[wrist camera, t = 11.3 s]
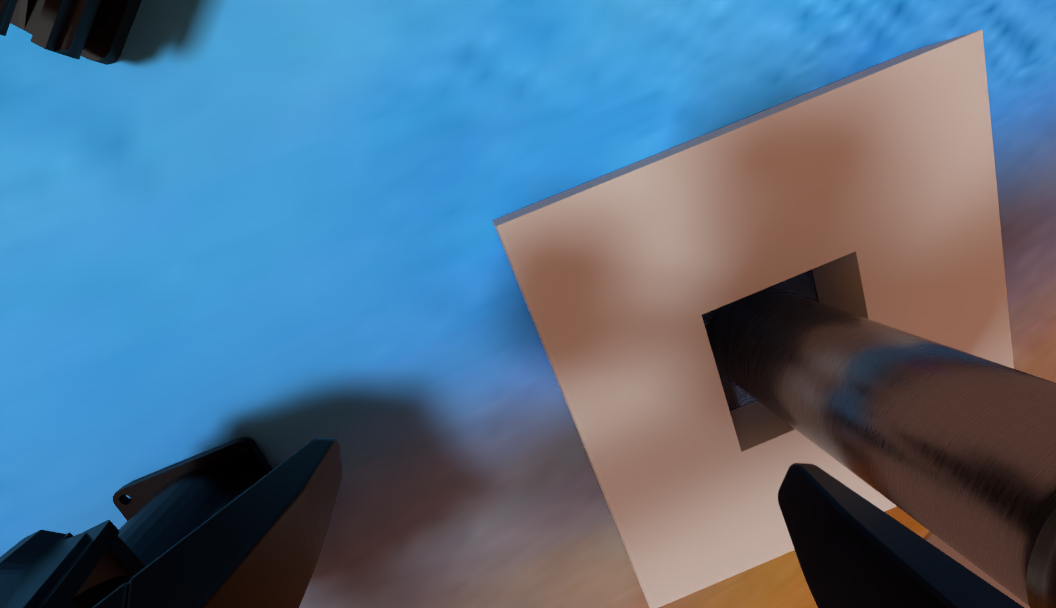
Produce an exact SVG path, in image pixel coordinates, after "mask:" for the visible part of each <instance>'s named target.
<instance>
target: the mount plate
mask: <svg viewBox="0 0 1056 608" xmlns="http://www.w3.org/2000/svg"><path fill="white" fill-rule="evenodd" d="M492 221H493V223H494V226H495V228H496V231H497V233H498V236H499V238H500V241H501V243H502V246H503V248H504V251H505V253H506V256H507V258H508V261H509V263H510V266H511V268H512V271H513V273H514V275H515V278H516V280H517V283H518V285H519V288H520V290H521V293H522V295H523V298H524V300H525V303H526V305H527V308H528V310H529V313H530V315H531V318H532V320H533V323H534V325H535V327H536V330H537V332H538V335H539V337H540V340H541V342H542V345H543V347H544V350H545V352H546V355H547V357H548V360H549V362H550V365H551V367H552V370H553V372H554V375H555V377H556V380H557V382H558V384H559V387H560V389H561V392H562V394H563V397H564V399H565V402H566V404H567V407H568V409H569V412H570V414H571V417H572V419H573V422H574V424H575V427H576V429H577V432H578V434H579V436H580V439H581V441H582V444H583V446H584V449H585V451H586V454H587V456H588V459H589V461H590V464H591V466H592V469H593V471H594V474H595V476H596V479H597V481H598V484H599V486H600V488H601V491H602V493H603V496H604V498H605V501H606V503H607V506H608V508H609V511H610V513H611V516H612V518H613V521H614V523H615V526H616V528H617V531H618V533H619V536H620V538H621V541H622V543H623V545H624V548H625V550H626V553H627V555H628V558H629V560H630V563H631V565H632V568H633V570H634V572H635V575H636V577H637V579H638V582H639V584H640V586H641V589H642V591H643V593H644V596H645V598H646V600H647V603H648V605H649V607H650V608H659V607H661V606H664V605H666V604H668V603H671V602H673V601H675V600H678V599H680V598H682V597H685V596H687V595H689V594H692V593H694V592H696V591H699V590H701V589H704V588H706V587H708V586H711V585H713V584H715V583H718V582H720V581H722V580H725V579H727V578H729V577H732V576H734V575H736V574H739V573H741V572H743V571H746V570H748V569H751V568H753V567H755V566H758V565H760V564H762V563H765V562H767V561H769V560H772V559H774V558H776V557H779V556H781V555H783V554H786V553H788V552H790V551H793V550H795V549H794V546H793V543H792V540H791V538H790V535H789V532H788V529H787V526H786V523H785V521H784V518H783V515H782V512H781V509H780V506H779V503H778V491H779V488H780V486H781V484H782V482H783V479H784V477H785V475H786V473H787V471H788V468H789V467H790V466H791V465H792V464H793V463H807V464H814V465H816V466H818V467H819V468H821V469H822V470H824V471H825V472H827V473H828V474H829V475H831V476H832V477H834V478H835V479H837V480H838V481H840V482H841V483H843V484H844V485H846V486H847V487H848V488H850V489H851V490H853V491H854V492H856V493H857V494H859V495H860V496H862V497H863V498H865V499H866V500H867V501H869V502H870V503H872V504H873V505H875V506H876V507H878V508H879V509H881V510H882V511H887V510H889V509H892V508H894V507H896V505H895V504H894V503H892V502H891V501H890V500H888V499H887V498H886V497H884V496H883V495H882V494H880V493H879V492H878V491H876V490H875V489H874V488H872V487H871V486H870V485H868V484H867V483H866V482H864V481H863V480H862V479H861V478H859V477H858V476H857V475H855V474H854V473H853V472H851V471H850V470H849V469H847V468H846V467H845V466H843V465H842V464H841V463H839V462H838V461H837V460H835V459H834V458H833V457H831V456H830V455H829V454H827V453H826V452H825V451H823V450H822V449H821V448H820V447H818V446H817V445H816V444H814V443H813V442H812V441H810V440H809V439H808V438H806V437H805V436H804V435H802V434H801V433H800V432H798V431H797V430H796V429H794V428H793V427H792V426H790V425H789V424H788V423H786V422H785V421H784V420H782V419H781V418H780V417H778V416H777V415H776V414H775V413H773V412H772V411H771V410H769V409H768V408H767V407H765V406H764V405H763V404H761V403H760V402H759V401H757V400H756V401H754V402H751V403H749V404H746V405H744V406H742V407H739V408H737V409H734V410H732V411H729V407H728V404H727V400H726V397H725V394H724V390H723V387H722V383H721V380H720V376H719V373H718V370H717V366H716V363H715V359H714V356H713V353H712V349H711V346H710V342H709V339H708V336H707V332H706V329H705V325H704V322H703V318H702V314H705V313H707V312H710V311H712V310H714V309H717V308H719V307H722V306H724V305H727V304H729V303H731V302H734V301H736V300H739V299H741V298H744V297H746V296H748V295H751V294H753V293H756V292H758V291H761V290H763V289H765V288H768V287H770V286H773V285H775V284H777V283H780V282H782V281H785V280H787V279H790V278H792V277H794V276H797V275H799V274H802V273H804V272H807V271H809V270H811V269H812V272H813V277H814V281H815V286H816V291H817V295H818V300H819V303H822V304H825V305H828V306H831V307H834V308H837V309H840V310H843V311H846V312H849V313H852V314H855V315H857V316H860V317H863V318H866V319H869V320H872V321H875V322H878V323H881V324H884V325H887V326H890V327H893V328H896V329H899V330H901V331H904V332H907V333H910V334H913V335H916V336H919V337H922V338H925V339H928V340H931V341H934V342H937V343H940V344H943V345H945V346H948V347H951V348H954V349H957V350H960V351H963V352H966V353H969V354H972V355H975V356H978V357H981V358H984V359H987V360H989V361H992V362H995V363H998V364H1001V365H1004V366H1007V367H1010V368H1013V369H1014V364H1013V353H1012V343H1011V332H1010V321H1009V311H1008V300H1007V289H1006V279H1005V268H1004V257H1003V247H1002V236H1001V225H1000V215H999V204H998V193H997V182H996V172H995V161H994V150H993V140H992V129H991V118H990V108H989V97H988V86H987V76H986V65H985V54H984V43H983V33H982V30H979V31H976V32H972V33H969V34H966V35H963V36H959V37H956V38H953V39H949V40H946V41H943V42H940V43H936V44H933V45H930V46H926V47H923V48H920V49H916V50H913V51H910V52H908V53H905V54H903V55H900V56H898V57H895V58H893V59H890V60H888V61H885V62H883V63H881V64H878V65H876V66H873V67H871V68H868V69H866V70H863V71H861V72H858V73H856V74H853V75H851V76H848V77H846V78H843V79H841V80H838V81H836V82H834V83H831V84H829V85H826V86H824V87H821V88H819V89H816V90H814V91H811V92H809V93H806V94H804V95H801V96H799V97H796V98H794V99H792V100H789V101H787V102H784V103H782V104H779V105H777V106H774V107H772V108H769V109H767V110H764V111H762V112H759V113H757V114H754V115H752V116H749V117H747V118H745V119H742V120H740V121H737V122H735V123H732V124H730V125H727V126H725V127H722V128H720V129H717V130H715V131H712V132H710V133H707V134H705V135H703V136H700V137H698V138H695V139H693V140H690V141H688V142H685V143H683V144H680V145H678V146H675V147H673V148H670V149H668V150H665V151H663V152H660V153H658V154H656V155H653V156H651V157H648V158H646V159H643V160H641V161H638V162H636V163H633V164H631V165H628V166H626V167H623V168H621V169H618V170H616V171H614V172H611V173H609V174H606V175H604V176H601V177H599V178H596V179H594V180H591V181H589V182H586V183H584V184H581V185H579V186H576V187H574V188H571V189H569V190H567V191H564V192H562V193H559V194H557V195H554V196H552V197H549V198H547V199H544V200H542V201H539V202H537V203H534V204H532V205H529V206H527V207H525V208H522V209H520V210H517V211H515V212H512V213H510V214H507V215H505V216H502V217H500V218H497V219H495V220H492Z"/></svg>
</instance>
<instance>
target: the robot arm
mask: <svg viewBox="0 0 1056 608" xmlns="http://www.w3.org/2000/svg"><path fill="white" fill-rule="evenodd" d="M240 447H244V448H246V449H247V451H248V452H243V451H241V450H240ZM341 478H342V465H341V457H340V448H339V443H338V441H337V440H336V439H332V438H315V439H313V440H311V441H310V442H309V443H307V444H306V445H305V446H303V447H302V448H301V449H300V450H298V451H297V452H296V453H294V454H293V455H292V456H290V457H289V458H288V459H286V460H285V461H284V462H283V463H281V464H280V465H279V466H277V467H276V468H275V469H272V467H271V466H270V464H269V463H268V461H267V460H266V458H265V456H264V455H263V453H262V452H261V450H260V449H259V447H258V445H257V444H256V443H255V441H254V440H252V439H250V438H246V437H243V438H239V439H237V440H234V441H232V442H229V443H227V444H225V445H222V446H220V447H217V448H215V449H212V450H210V451H208V452H205V453H203V454H200V455H198V456H195V457H193V458H190V459H188V460H186V461H183V462H181V463H178V464H176V465H173V466H171V467H168V468H166V469H164V470H161V471H159V472H156V473H154V474H151V475H149V476H147V477H144V478H142V479H139V480H137V481H134V482H132V483H129V484H127V485H125V486H123V487H122V488H120V489H119V490H118V491H117V492H116V493H115V494H114V496H113V502H114V504H115V505H116V506H117V508H118V509H119V510H120V512H121V513H122V514H123V516H124V517H125V518H126V519H127V522H126V523H125V524H124V525H123V526H122V527H121V528H120V529H119V530H118V529H117V528H116V527H115V526H114V525H113V523H112V522H111V521H110V520H107V521H105V522H103V523H101V524H99V525H97V526H95V527H93V528H91V529H89V530H87V531H85V532H83V533H81V534H78V535H75V536H73V535H72V534H71V533H67V534H62V533H56V532H51V531H45V530H40V531H38V532H36V533H34V534H32V535H30V536H28V537H26V538H24V539H22V540H21V541H20V542H19V543H17V544H16V545H15V546H14V547H12V548H11V549H10V550H9V551H7V552H6V553H5V554H4V555H2V556H1V557H0V608H299V606H300V603H301V601H302V598H303V596H304V594H305V591H306V589H307V586H308V584H309V581H310V579H311V577H312V574H313V571H314V569H315V566H316V564H317V561H318V558H319V554H320V551H321V548H322V545H323V541H324V538H325V534H326V531H327V528H328V524H329V521H330V517H331V514H332V510H333V507H334V504H335V500H336V497H337V493H338V490H339V487H340V483H341ZM126 495H128V496H130V497H131V499H130V498H128V497H126ZM778 503H779V506H780V509H781V512H782V515H783V518H784V521H785V523H786V526H787V529H788V532H789V535H790V538H791V540H792V543H793V546H794V549H795V552H796V555H797V558H798V560H799V563H800V566H801V569H802V571H803V574H804V577H805V579H806V582H807V584H808V586H809V589H810V591H811V593H812V595H813V598H814V600H815V602H816V604H817V606H818V608H1024V607H1022V606H1021V605H1019V604H1018V603H1017V602H1015V601H1014V600H1012V599H1011V598H1009V597H1008V596H1006V595H1005V594H1003V593H1002V592H1000V591H999V590H998V589H996V588H995V587H993V586H992V585H990V584H989V583H987V582H986V581H984V580H983V579H982V578H980V577H979V576H977V575H976V574H974V573H973V572H971V571H970V570H968V569H967V568H965V567H964V566H963V565H961V564H960V563H958V562H956V561H955V560H954V559H952V558H951V557H949V556H948V555H946V554H945V553H944V552H942V551H941V550H939V549H938V548H936V547H935V546H933V545H932V544H930V543H929V542H927V541H926V540H925V539H923V538H922V537H920V536H919V535H917V534H916V533H914V532H913V531H911V530H910V529H908V528H907V527H905V526H904V525H903V524H901V523H900V522H898V521H897V520H895V519H894V518H892V517H891V516H889V515H888V514H886V513H885V512H884V511H882V510H881V509H879V508H878V507H876V506H875V505H873V504H872V503H870V502H869V501H867V500H866V499H865V498H863V497H862V496H860V495H859V494H857V493H856V492H854V491H853V490H851V489H850V488H848V487H847V486H846V485H844V484H843V483H841V482H840V481H838V480H837V479H835V478H834V477H832V476H831V475H829V474H828V473H827V472H825V471H824V470H822V469H821V468H819V467H818V466H816V465H814V464H807V463H793V464H792V465H791V466H790V467H789V468H788V471H787V473H786V475H785V477H784V479H783V482H782V484H781V486H780V488H779V491H778Z"/></svg>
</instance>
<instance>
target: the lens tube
mask: <svg viewBox="0 0 1056 608" xmlns="http://www.w3.org/2000/svg"><path fill="white" fill-rule="evenodd" d="M707 336H708V339H709V342H710V346H711V349H712V353H713V356H714V359H715V363H716V366H717V370H718V371H719V372H720V373H722V374H723V375H724V376H726V377H727V378H728V379H730V380H731V381H732V382H734V383H735V384H736V385H737V386H739V387H740V388H741V389H743V390H744V391H745V392H747V393H748V394H749V395H751V396H752V397H753V398H755V399H756V400H757V401H759V402H760V403H761V404H763V405H764V406H765V407H767V408H768V409H769V410H771V411H772V412H773V413H775V414H776V415H777V416H778V417H780V418H781V419H782V420H784V421H785V422H786V423H788V424H789V425H790V426H792V427H793V428H794V429H796V430H797V431H798V432H800V433H801V434H802V435H804V436H805V437H806V438H808V439H809V440H810V441H812V442H813V443H814V444H816V445H817V446H818V447H820V448H821V449H822V450H823V451H825V452H826V453H827V454H829V455H830V456H831V457H833V458H834V459H835V460H837V461H838V462H839V463H841V464H842V465H843V466H845V467H846V468H847V469H849V470H850V471H851V472H853V473H854V474H855V475H857V476H858V477H859V478H861V479H862V480H863V481H864V482H866V483H867V484H868V485H870V486H871V487H872V488H874V489H875V490H876V491H878V492H879V493H880V494H882V495H883V496H884V497H886V498H887V499H888V500H890V501H891V502H892V503H894V504H895V505H896V506H898V507H899V508H900V509H902V510H903V511H904V512H905V513H907V514H908V515H909V516H911V517H912V518H913V519H915V520H916V521H917V522H919V523H920V524H921V525H923V526H924V527H925V528H927V529H928V530H929V531H931V532H932V533H933V534H935V535H936V536H937V537H939V538H940V539H941V540H943V541H944V542H945V543H947V544H948V545H949V546H950V547H952V548H953V549H954V550H956V551H957V552H958V553H960V554H961V555H962V556H964V557H965V558H966V559H968V560H969V561H971V562H972V563H973V564H974V565H976V566H977V567H978V568H980V569H981V570H982V571H984V572H985V573H986V574H988V575H989V576H990V577H991V578H993V579H994V580H996V581H997V582H998V583H999V584H1001V585H1002V586H1004V587H1005V588H1006V589H1007V590H1009V591H1010V592H1011V593H1013V594H1014V595H1015V596H1017V597H1018V598H1019V599H1021V600H1022V601H1023V602H1025V603H1026V604H1027V605H1029V606H1030V608H1056V383H1054V382H1051V381H1048V380H1045V379H1042V378H1039V377H1036V376H1033V375H1031V374H1028V373H1025V372H1022V371H1019V370H1016V369H1013V368H1010V367H1007V366H1004V365H1001V364H998V363H995V362H992V361H989V360H987V359H984V358H981V357H978V356H975V355H972V354H969V353H966V352H963V351H960V350H957V349H954V348H951V347H948V346H945V345H943V344H940V343H937V342H934V341H931V340H928V339H925V338H922V337H919V336H916V335H913V334H910V333H907V332H904V331H901V330H899V329H896V328H893V327H890V326H887V325H884V324H881V323H878V322H875V321H872V320H869V319H866V318H863V317H860V316H857V315H855V314H852V313H849V312H846V311H843V310H840V309H837V308H834V307H831V306H828V305H825V304H822V303H819V302H816V301H813V300H811V299H808V298H805V297H802V296H799V295H796V294H793V293H790V292H787V291H784V290H781V289H778V288H775V287H771V286H770V287H768V288H765V289H763V290H761V291H758V292H756V293H753V294H751V295H748V296H746V297H744V298H741V299H739V300H736V301H734V302H731V303H729V304H727V305H724V306H722V307H719V308H718V309H717V311H716V312H715V314H714V316H713V317H712V320H711V322H710V324H709V328H708V332H707Z"/></svg>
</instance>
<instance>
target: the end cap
mask: <svg viewBox="0 0 1056 608" xmlns="http://www.w3.org/2000/svg"><path fill="white" fill-rule="evenodd" d="M141 1H142V0H0V35H4V36H6V33H7V30H8V27H9V24H10V23H12V24H13V25H15V26H17V27H19V28H21V29H23V30H25V31H27V32H28V33H30V34H32V35H33V36H32V39H31V42H33V43H35V44H37V45H39V46H41V47H43V48H44V49H47V50H50V51H53V52H57V53H60V54H63V55H66V56H69V57H72V58H75V59H80V56H83V57H85V58H87V59H90V60H93V61H96V62H99V63H103V64H110V63H113V62H115V61H116V60H117V59H118V58H119V56H120V55H121V52H122V49H123V47H124V44H125V42H126V39H127V37H128V34H129V32H130V29H131V26H132V24H133V21H134V19H135V16H136V14H137V11H138V8H139V6H140V3H141Z"/></svg>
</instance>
